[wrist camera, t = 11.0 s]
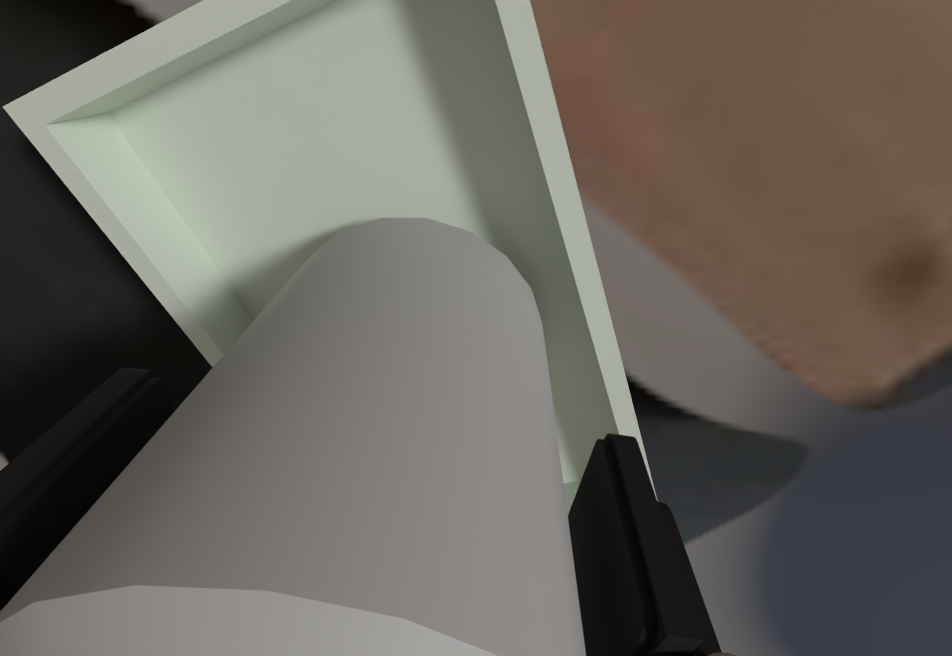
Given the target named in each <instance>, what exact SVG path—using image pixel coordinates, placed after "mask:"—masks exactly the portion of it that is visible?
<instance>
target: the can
mask: <svg viewBox="0 0 952 656" xmlns="http://www.w3.org/2000/svg"><path fill="white" fill-rule="evenodd" d="M0 656H586V651H585V644H584V636H583V628H582V621H581V613H580V606H579V598H578V590H577V583H576V575H575V568H574V560H573V552H572V545H571V537H570V530H569V522H568V514H567V507H566V499H565V492H564V484H563V476H562V469H561V461H560V454H559V446H558V438H557V431H556V423H555V416H554V408H553V400H552V393H551V385H550V378H549V370H548V362H547V355H546V347H545V340H544V332H543V324H542V320H541V317H540V314H539V311H538V308H537V305H536V301H535V298H534V295H533V292H532V289H531V287H530V286H529V285H528V283H527V282H526V281H525V279H524V278H523V277H522V276H521V274H520V273H519V272H518V270H517V269H516V268H515V266H514V265H513V264H512V262H511V261H510V260H509V259H508V257H507V256H506V255H504V254H503V253H501V252H500V251H498V250H497V249H495V248H494V247H492V246H491V245H490V244H488V243H487V242H485V241H484V240H482V239H481V238H479V237H478V236H476V235H475V234H473V233H472V232H470V231H468V230H464V229H461V228H458V227H455V226H451V225H448V224H445V223H442V222H438V221H435V220H432V219H429V218H379V219H376V220H373V221H370V222H367V223H364V224H361V225H358V226H355V227H352V228H349V229H346V230H343V231H340V232H339V233H338V234H336V235H335V236H334V237H333V238H332V239H330V240H329V241H328V242H327V243H325V244H324V245H323V246H322V247H320V248H319V249H318V250H317V251H316V252H314V253H313V254H312V255H311V256H310V257H309V258H308V259H307V260H306V261H305V262H304V264H303V265H302V266H301V267H300V268H299V269H298V270H297V272H296V273H295V274H294V275H293V276H292V277H291V278H290V280H289V281H288V282H287V283H286V284H285V285H284V287H283V288H282V289H281V290H280V291H279V292H278V293H277V295H276V296H275V297H274V298H273V299H272V300H271V301H270V303H269V304H268V305H267V306H266V307H265V308H264V309H263V311H262V312H261V313H260V314H259V315H258V316H257V318H256V319H255V320H254V321H253V322H252V323H251V324H250V326H249V327H248V328H247V329H246V330H245V331H244V332H243V334H242V335H241V336H240V337H239V338H238V339H237V341H236V342H235V343H234V344H233V345H232V346H231V347H230V349H229V350H228V351H227V352H226V353H225V354H224V355H223V357H222V358H221V359H220V360H219V361H218V362H217V363H216V365H215V366H214V367H213V368H212V369H211V370H210V372H209V373H208V374H207V375H206V376H205V377H204V378H203V380H202V381H201V382H200V383H199V384H198V385H197V386H196V388H195V389H194V390H193V391H192V392H191V393H190V394H189V396H188V397H187V398H186V399H185V400H184V401H183V403H182V404H181V405H180V406H179V407H178V408H177V409H176V411H175V412H174V413H173V414H172V415H171V416H170V417H169V419H168V420H167V421H166V422H165V423H164V424H163V426H162V427H161V428H160V429H159V430H158V431H157V432H156V434H155V435H154V436H153V437H152V438H151V439H150V440H149V442H148V443H147V444H146V445H145V446H144V447H143V448H142V450H141V451H140V452H139V453H138V454H137V455H136V457H135V458H134V459H133V460H132V461H131V462H130V463H129V465H128V466H127V467H126V468H125V469H124V470H123V471H122V473H121V474H120V475H119V476H118V477H117V478H116V480H115V481H114V482H113V483H112V484H111V485H110V486H109V488H108V489H107V490H106V491H105V492H104V493H103V494H102V496H101V497H100V498H99V499H98V500H97V501H96V502H95V504H94V505H93V506H92V507H91V508H90V509H89V511H88V512H87V513H86V514H85V515H84V516H83V517H82V519H81V520H80V521H79V522H78V523H77V524H76V525H75V527H74V528H73V529H72V530H71V531H70V532H69V533H68V535H67V536H66V537H65V538H64V539H63V540H62V542H61V543H60V544H59V545H58V546H57V547H56V548H55V550H54V551H53V552H52V553H51V554H50V555H49V556H48V558H47V559H46V560H45V561H44V562H43V563H42V565H41V566H40V567H39V568H38V569H37V570H36V571H35V573H34V574H33V575H32V576H31V577H30V578H29V579H28V581H27V582H26V583H25V584H24V585H23V586H22V587H21V589H20V590H19V591H18V592H17V593H16V594H15V596H14V597H13V598H12V599H11V600H10V601H9V602H8V604H7V605H6V606H5V607H4V608H3V609H2V610H1V612H0Z"/></svg>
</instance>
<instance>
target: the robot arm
mask: <svg viewBox="0 0 952 656" xmlns="http://www.w3.org/2000/svg"><path fill="white" fill-rule="evenodd" d="M174 412H175V411H174V408H173V404H172V400H171V397H170V393H169V390H168V386H167V383H166V381H165V380H164V379H161V378H160V376H159V374H158V373H157V372H156V371H152V370H145V369H138V368H130V367H124V368H121V369H120V370H118V371H117V372H115V373H114V374H113V375H112V376H111V377H110V378H108V379H107V380H106V381H105V382H104V383H103V384H101V385H100V386H99V387H98V388H97V389H96V390H94V391H93V392H92V393H91V394H90V395H89V396H87V397H86V398H85V399H84V400H83V401H82V402H80V403H79V404H78V405H77V406H76V407H74V408H73V409H72V410H71V411H70V412H69V413H67V414H66V415H65V416H64V417H63V418H62V419H60V420H59V421H58V422H57V423H56V424H55V425H53V426H52V427H51V428H50V429H49V430H48V431H46V432H45V433H44V434H43V435H42V436H41V437H39V438H38V439H37V440H36V441H35V442H34V443H32V444H31V445H30V446H29V447H28V448H27V449H25V450H24V451H23V452H22V453H21V454H20V455H18V456H17V457H16V458H15V459H14V460H13V461H11V462H10V463H9V464H8V465H7V466H6V467H4V468H3V469H2V470H1V471H0V612H1V610H2V609H3V608H4V607H5V606H6V605H7V604H8V602H9V601H10V600H11V599H12V598H13V597H14V596H15V594H16V593H17V592H18V591H19V590H20V589H21V587H22V586H23V585H24V584H25V583H26V582H27V581H28V579H29V578H30V577H31V576H32V575H33V574H34V573H35V571H36V570H37V569H38V568H39V567H40V566H41V565H42V563H43V562H44V561H45V560H46V559H47V558H48V556H49V555H50V554H51V553H52V552H53V551H54V550H55V548H56V547H57V546H58V545H59V544H60V543H61V542H62V540H63V539H64V538H65V537H66V536H67V535H68V533H69V532H70V531H71V530H72V529H73V528H74V527H75V525H76V524H77V523H78V522H79V521H80V520H81V519H82V517H83V516H84V515H85V514H86V513H87V512H88V511H89V509H90V508H91V507H92V506H93V505H94V504H95V502H96V501H97V500H98V499H99V498H100V497H101V496H102V494H103V493H104V492H105V491H106V490H107V489H108V488H109V486H110V485H111V484H112V483H113V482H114V481H115V480H116V478H117V477H118V476H119V475H120V474H121V473H122V471H123V470H124V469H125V468H126V467H127V466H128V465H129V463H130V462H131V461H132V460H133V459H134V458H135V457H136V455H137V454H138V453H139V452H140V451H141V450H142V448H143V447H144V446H145V445H146V444H147V443H148V442H149V440H150V439H151V438H152V437H153V436H154V435H155V434H156V432H157V431H158V430H159V429H160V428H161V427H162V426H163V424H164V423H165V422H166V421H167V420H168V419H169V417H170V416H171V415H172V414H173V413H174ZM568 522H569V530H570V537H571V545H572V552H573V560H574V568H575V575H576V583H577V590H578V598H579V606H580V613H581V621H582V628H583V636H584V644H585V651H586V656H735V655H732V654H729V653H722V652H721V649H720V646H719V643H718V640H717V638H716V635H715V632H714V629H713V626H712V624H711V621H710V618H709V615H708V613H707V609H706V607H705V604H704V601H703V598H702V595H701V593H700V590H699V587H698V584H697V581H696V578H695V576H694V573H693V570H692V567H691V564H690V561H689V559H688V556H687V553H686V550H685V547H684V544H683V542H682V539H681V536H680V533H679V530H678V528H677V525H676V522H675V519H674V516H673V514H672V512H671V510H670V508H669V507H668V506H667V505H666V504H665V503H661V502H657V499H656V496H655V493H654V490H653V487H652V484H651V481H650V478H649V475H648V472H647V469H646V466H645V462H644V459H643V456H642V453H641V450H640V447H639V444H638V442H637V440H636V438H635V437H632V436H625V435H618V434H610V433H608V434H607V435H606V436H605V438H604V439H597V441H596V443H595V445H594V448H593V450H592V453H591V456H590V458H589V461H588V464H587V466H586V469H585V472H584V474H583V477H582V479H581V482H580V485H579V487H578V490H577V493H576V495H575V498H574V501H573V503H572V506H571V508H570V511H569V514H568Z"/></svg>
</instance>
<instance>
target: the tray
mask: <svg viewBox="0 0 952 656" xmlns="http://www.w3.org/2000/svg"><path fill="white" fill-rule="evenodd" d="M3 108H4V109H5V110H6V112H7V113H8V114H9V115H10V117H11V118H12V119H13V120H14V121H15V123H16V124H17V125H18V126H19V128H20V129H21V130H22V131H23V133H24V134H25V135H26V136H27V138H28V139H29V140H30V141H31V143H32V144H33V145H34V146H35V148H36V149H37V150H38V151H39V153H40V154H41V155H42V156H43V157H44V159H45V160H46V161H47V162H48V164H49V165H50V166H51V167H52V169H53V170H54V171H55V172H56V174H57V175H58V176H59V177H60V179H61V180H62V181H63V182H64V184H65V185H66V186H67V187H68V189H69V190H70V191H71V192H72V193H73V195H74V196H75V197H76V198H77V200H78V201H79V202H80V203H81V205H82V206H83V207H84V208H85V210H86V211H87V212H88V213H89V215H90V216H91V217H92V218H93V220H94V221H95V222H96V223H97V225H98V226H99V227H100V228H101V229H102V231H103V232H104V233H105V234H106V236H107V237H108V238H109V239H110V241H111V242H112V243H113V244H114V246H115V247H116V248H117V249H118V251H119V252H120V253H121V254H122V256H123V257H124V258H125V259H126V261H127V262H128V263H129V264H130V265H131V267H132V268H133V269H134V270H135V272H136V273H137V274H138V275H139V277H140V278H141V279H142V280H143V282H144V283H145V284H146V285H147V287H148V288H149V289H150V290H151V292H152V293H153V294H154V295H155V297H156V298H157V299H158V300H159V301H160V303H161V304H162V305H163V306H164V308H165V309H166V310H167V311H168V313H169V314H170V315H171V316H172V318H173V319H174V320H175V321H176V323H177V324H178V325H179V326H180V328H181V329H182V330H183V331H184V333H185V334H186V335H187V336H188V337H189V339H190V340H191V341H192V342H193V344H194V345H195V346H196V347H197V349H198V350H199V351H200V352H201V354H202V355H203V356H204V357H205V359H206V360H207V361H208V362H209V364H210V365H211V366H212V367H214V366H215V365H216V363H217V362H218V361H219V360H220V359H221V358H222V357H223V355H224V354H225V353H226V352H227V351H228V350H229V349H230V347H231V346H232V345H233V344H234V343H235V342H236V341H237V339H238V338H239V337H240V336H241V335H242V334H243V332H244V331H245V330H246V329H247V328H248V327H249V326H250V324H251V323H252V322H253V321H254V320H255V319H256V318H257V316H258V315H259V314H260V313H261V312H262V311H263V309H264V308H265V307H266V306H267V305H268V304H269V303H270V301H271V300H272V299H273V298H274V297H275V296H276V295H277V293H278V292H279V291H280V290H281V289H282V288H283V287H284V285H285V284H286V283H287V282H288V281H289V280H290V278H291V277H292V276H293V275H294V274H295V273H296V272H297V270H298V269H299V268H300V267H301V266H302V265H303V264H304V262H305V261H306V260H307V259H308V258H309V257H310V256H311V255H312V254H313V253H314V252H316V251H317V250H318V249H319V248H320V247H322V246H323V245H324V244H325V243H327V242H328V241H329V240H330V239H332V238H333V237H334V236H335V235H336V234H338V233H339V232H340V231H343V230H346V229H349V228H352V227H355V226H358V225H361V224H364V223H367V222H370V221H373V220H376V219H379V218H429V219H432V220H435V221H438V222H442V223H445V224H448V225H451V226H455V227H458V228H461V229H464V230H468V231H470V232H472V233H473V234H475V235H476V236H478V237H479V238H481V239H482V240H484V241H485V242H487V243H488V244H490V245H491V246H492V247H494V248H495V249H497V250H498V251H500V252H501V253H503V254H504V255H506V256H507V257H508V259H509V260H510V261H511V262H512V264H513V265H514V266H515V268H516V269H517V270H518V272H519V273H520V274H521V276H522V277H523V278H524V279H525V281H526V282H527V283H528V285H529V286H530V287H531V289H532V292H533V295H534V298H535V301H536V305H537V308H538V311H539V314H540V317H541V320H542V324H543V332H544V340H545V347H546V355H547V362H548V370H549V378H550V385H551V393H552V400H553V408H554V416H555V423H556V431H557V438H558V446H559V454H560V461H561V469H562V476H563V484H564V492H565V499H566V507H567V514H569V511H570V508H571V506H572V503H573V501H574V498H575V495H576V493H577V490H578V487H579V485H580V482H581V479H582V477H583V474H584V472H585V469H586V466H587V464H588V461H589V458H590V456H591V453H592V450H593V448H594V445H595V443H596V441H597V439H604V438H605V436H606V435H607V434H608V433H610V434H618V435H625V436H632V437H635V438H636V440H637V442H638V444H639V447H640V450H641V453H642V456H643V459H644V462H645V466H646V469H647V472H648V475H649V478H650V481H651V484H652V487H653V490H654V486H653V482H652V478H651V474H650V470H649V466H648V462H647V458H646V454H645V450H644V447H643V443H642V439H641V435H640V431H639V427H638V423H637V419H636V415H635V411H634V407H633V403H632V399H631V396H630V392H629V388H628V384H627V380H626V376H625V372H624V368H623V364H622V360H621V356H620V352H619V348H618V345H617V341H616V337H615V333H614V329H613V325H612V321H611V317H610V313H609V309H608V305H607V302H606V297H605V294H604V290H603V286H602V282H601V278H600V274H599V270H598V267H597V262H596V258H595V254H594V250H593V247H592V243H591V239H590V235H589V231H588V227H587V223H586V219H585V215H584V211H583V207H582V203H581V199H580V195H579V191H578V188H577V184H576V180H575V176H574V172H573V168H572V164H571V160H570V156H569V152H568V148H567V144H566V140H565V137H564V133H563V129H562V125H561V121H560V117H559V113H558V109H557V105H556V101H555V97H554V93H553V89H552V85H551V82H550V78H549V74H548V70H547V66H546V62H545V58H544V54H543V50H542V46H541V42H540V38H539V34H538V31H537V27H536V23H535V19H534V15H533V11H532V7H531V3H530V0H203V1H201V2H199V3H197V4H196V5H194V6H192V7H190V8H188V9H186V10H184V11H182V12H180V13H178V14H177V15H175V16H173V17H171V18H169V19H167V20H165V21H163V22H162V23H160V24H158V25H156V26H154V27H152V28H150V29H148V30H146V31H145V32H143V33H141V34H139V35H137V36H135V37H133V38H131V39H130V40H128V41H126V42H124V43H122V44H120V45H118V46H116V47H114V48H113V49H111V50H109V51H107V52H105V53H103V54H101V55H99V56H97V57H96V58H94V59H92V60H90V61H88V62H86V63H84V64H82V65H81V66H79V67H77V68H75V69H73V70H71V71H69V72H67V73H65V74H64V75H62V76H60V77H58V78H56V79H54V80H52V81H50V82H48V83H47V84H45V85H43V86H41V87H39V88H37V89H35V90H33V91H32V92H30V93H28V94H26V95H24V96H22V97H20V98H18V99H16V100H15V101H13V102H11V103H9V104H7V105H5V106H3ZM654 493H655V490H654ZM655 496H656V494H655ZM656 499H657V498H656Z"/></svg>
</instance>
